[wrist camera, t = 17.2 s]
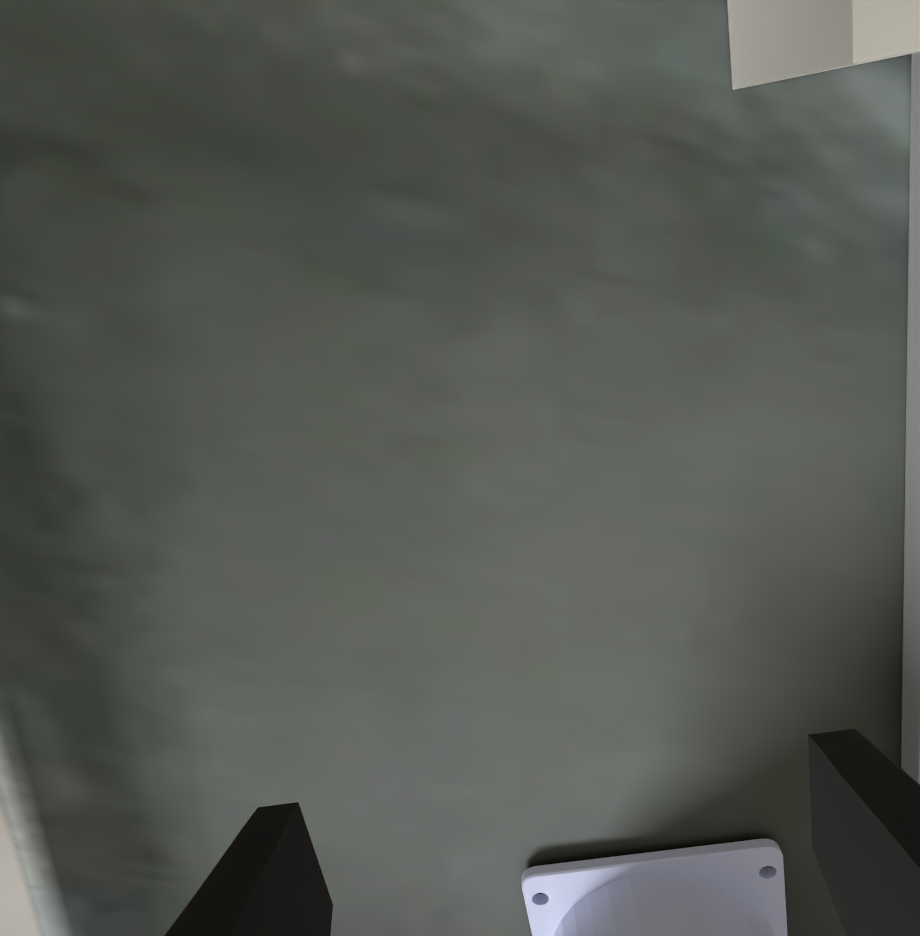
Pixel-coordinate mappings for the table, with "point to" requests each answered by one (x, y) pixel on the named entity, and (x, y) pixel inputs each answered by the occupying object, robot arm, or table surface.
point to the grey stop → (876, 38)
